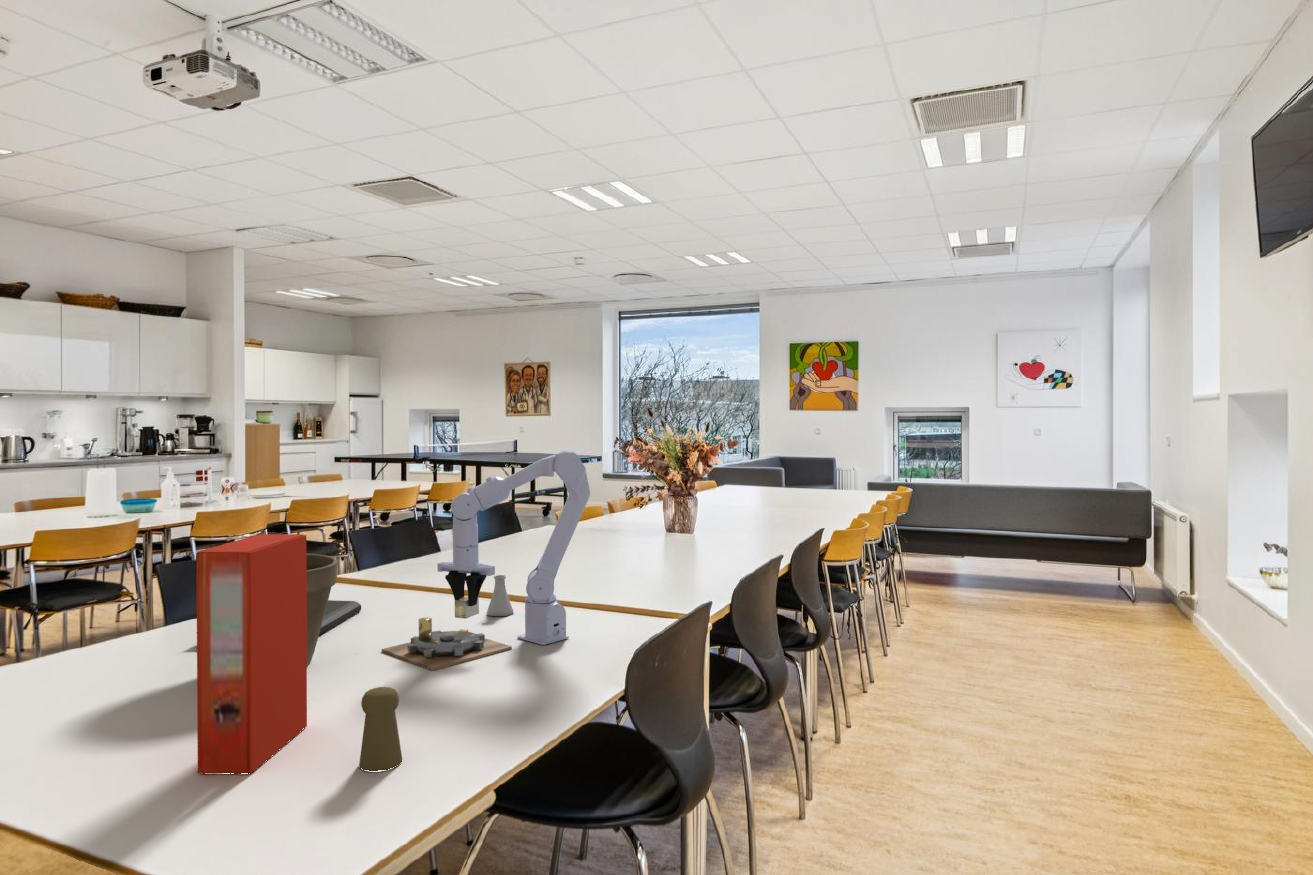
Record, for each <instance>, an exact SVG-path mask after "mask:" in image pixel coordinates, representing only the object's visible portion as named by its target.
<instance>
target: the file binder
mask: <svg viewBox="0 0 1313 875" xmlns="http://www.w3.org/2000/svg"><path fill="white" fill-rule="evenodd" d="M306 554H307V534H302V533H301V534H291V533H289V534H288V533H287V534H283V533H280V534H279V533H278V534H277V533H276V534H275V533H269V534H268V533H265V534H264V533H259V534H256V535H252V536H249V537H245V538H242V539H237V540H236V541H231V542H227V543H224V544H220V545H216V546H212V547H209V548H206V549H203V550H199V551H197V552H196V556H195V557H196V684H197V685H196V689H197V690H196V691H197V692H196V694H197V695H196V698H197V700H196V701H197V703H196V704H197V706H196V710H197V712H196V713H197V714H196V716H197V717H196V718H197V719H196V721H197V722H196V723H197V725H196V726H197V735H196V736H197V738H196V739H197V774H201V773H203V774H202V775H206V774H205V773H230V774H231V773H234V774H241V773H248V774H249V773H250V774H251V773H252V772H253V771H254V772H256V771H257V770H258V769H259V768H260V767H261V766H263V765H264V764H265V763H266V762H267V761H268V760H267V759H269V758H270V757H271V756H272V755H273V754H274V753H276V752H277V751H278V750H279V749H280V748H281V749H283V748H284V747H285V746H286V745H287V744H288V743H289V742H288V741H289V740H291V739H292V738H293V737H294V736H296V735H297V734H298V733H299V732H300V731H301V730H302V729H303V728H305V727H306V728H307V726H308V684H307V683H308V672H307V671H308V670H307V669H308V668H307V667H308V666H307V567H306ZM306 728H305V729H306ZM301 732H302V731H301ZM301 732H300V733H301ZM300 733H299V734H300ZM299 734H298V735H299ZM298 735H297V736H298ZM297 736H296V737H297ZM294 738H295V737H294ZM294 738H293V739H294ZM293 739H292V740H293ZM292 740H291V741H292ZM287 742H288V743H287ZM286 743H287V744H286ZM285 744H286V745H285ZM284 745H285V746H284ZM283 746H284V747H283ZM282 747H283V748H282ZM281 749H280V750H281ZM280 750H279V751H280ZM279 751H278V752H279ZM278 752H277V753H278ZM277 753H276V754H277ZM274 755H275V754H274ZM274 755H273V756H274ZM273 756H272V757H273ZM272 757H271V758H272ZM271 758H270V759H271ZM270 759H269V760H270ZM266 760H267V761H266ZM265 761H266V762H265ZM264 762H265V763H264ZM263 763H264V764H263ZM262 764H263V765H262ZM260 765H261V766H260ZM259 766H260V767H259ZM258 767H259V768H258ZM257 768H258V769H257ZM256 769H257V770H256ZM255 770H256V771H255ZM254 772H253V773H254ZM253 773H252V774H253ZM252 774H251V775H252Z"/></svg>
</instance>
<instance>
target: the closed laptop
mask: <svg viewBox="0 0 1313 875" xmlns="http://www.w3.org/2000/svg"><path fill="white" fill-rule="evenodd" d="M361 611H362V604H361V603H360V602H358V601H355V600H332V599H331V600H329V599H328V603H327V607H326V610H325V614H324V618H323V621H322V625H321V629H320V632H319V636H318V637H320V636H322V635H323V634H325V633H327V632H328V631H330V630H331V629H334V628H335V627H336V626H338V625H339V624H342V623H343V622H346V621H347V620H349V619H350V618H352V617H353V616H355V615H357V614H359V613H360V612H361Z"/></svg>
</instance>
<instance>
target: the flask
mask: <svg viewBox="0 0 1313 875" xmlns="http://www.w3.org/2000/svg"><path fill="white" fill-rule="evenodd" d="M506 577H507V575H506V574H498V575H497V574H496V575H493V579H494V589H493V592H492V595H491V599H490V602H489V604H488V607H487V610H486V616H491V617H506V616H508V617H509V616H511V615H512V614H514V609H513V607H512V603H511V600H510V598H509V595H508V592H507V589H506V581H505V580H506Z"/></svg>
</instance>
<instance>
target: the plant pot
mask: <svg viewBox="0 0 1313 875" xmlns="http://www.w3.org/2000/svg"><path fill="white" fill-rule="evenodd" d="M338 565H339V561H338V559H337V558H336V557H333V556H331V555H325V554H317V553H316V554H315V553H306V567H307V667H308V666H309V665H310V664H311V661H312V660H313V657H314V653H315V650H316V647H317V642H318V639H319V637H320V636H319V632H320V629H321V625H322V621H323V618H324V614H325V610H326V607H327V603H328V600H329V598H330V596H331V595H330V594H331V591H332V587H333V586H335V585H336V584H337V580H338V579H337V578H338Z"/></svg>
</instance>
